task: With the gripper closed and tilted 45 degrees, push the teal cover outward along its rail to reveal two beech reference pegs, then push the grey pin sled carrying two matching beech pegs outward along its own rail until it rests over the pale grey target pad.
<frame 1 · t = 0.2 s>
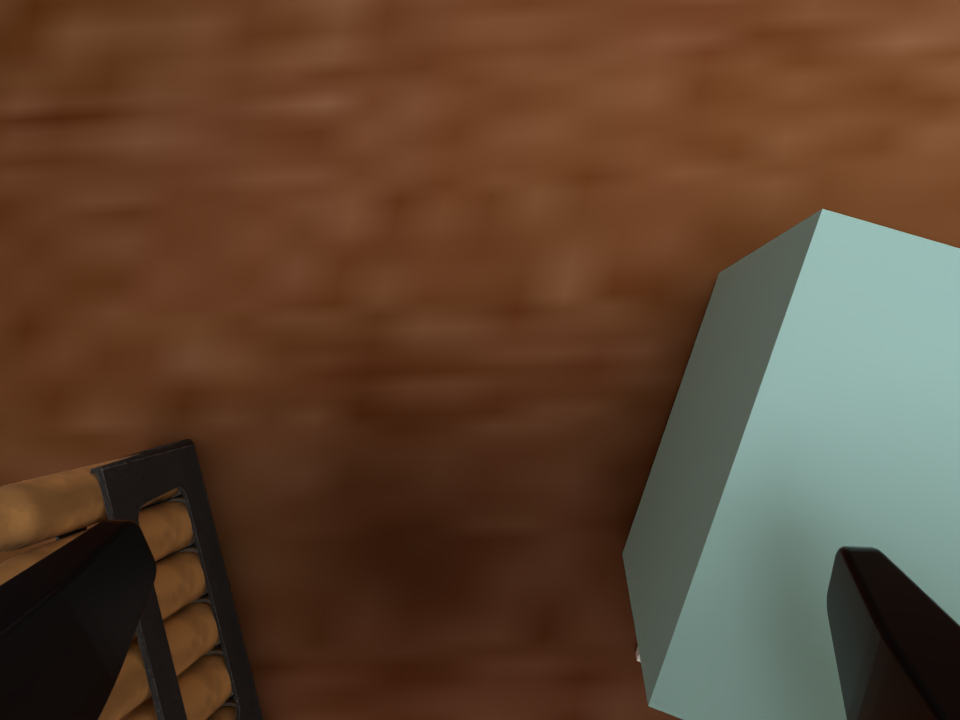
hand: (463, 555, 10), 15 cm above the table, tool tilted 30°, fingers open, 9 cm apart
ammunition clip: (209, 592, 26), on the table
housing: (907, 504, 17), point 6 cm above the table, slide at 0.0 cm
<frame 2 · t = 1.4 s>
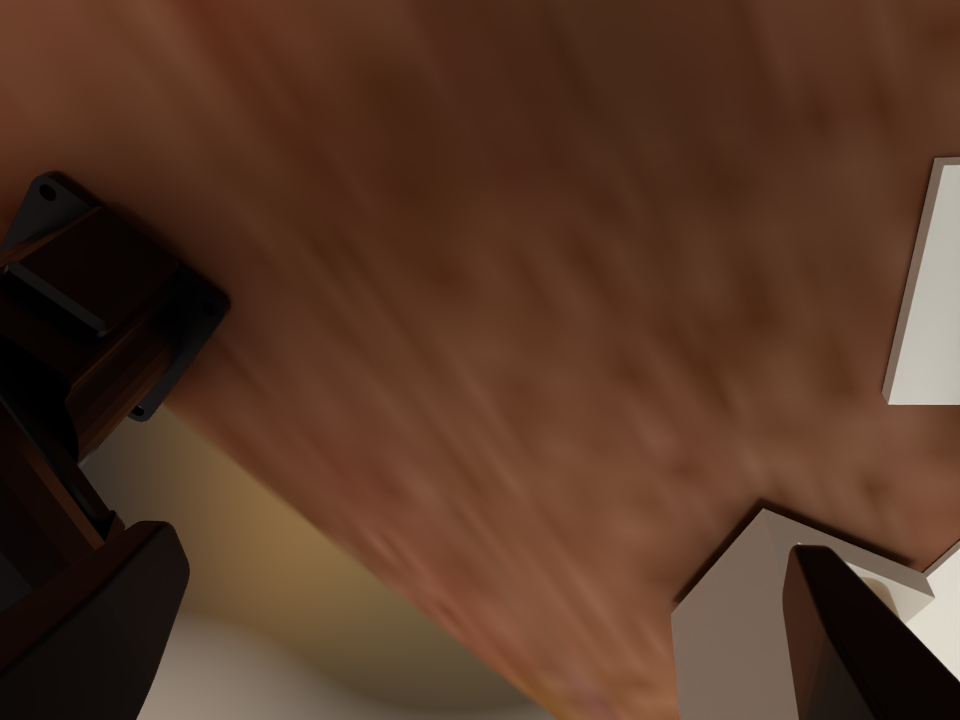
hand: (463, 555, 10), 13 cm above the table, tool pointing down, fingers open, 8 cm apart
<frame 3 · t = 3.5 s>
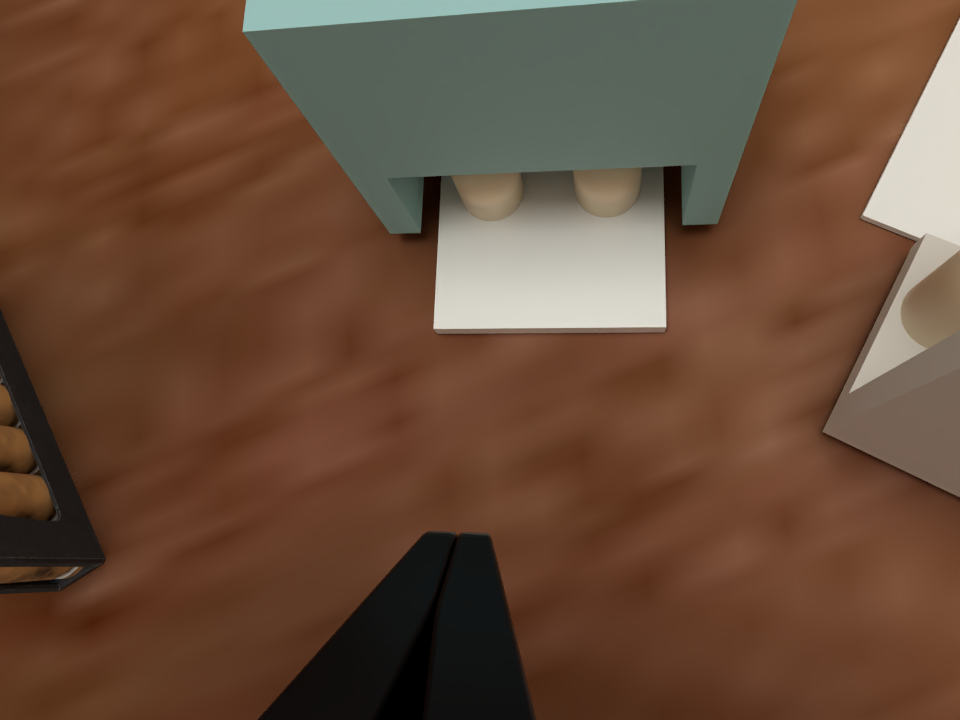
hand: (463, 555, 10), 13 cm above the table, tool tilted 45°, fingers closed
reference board: (551, 155, 24), on the table
ammunition clip: (29, 436, 26), on the table
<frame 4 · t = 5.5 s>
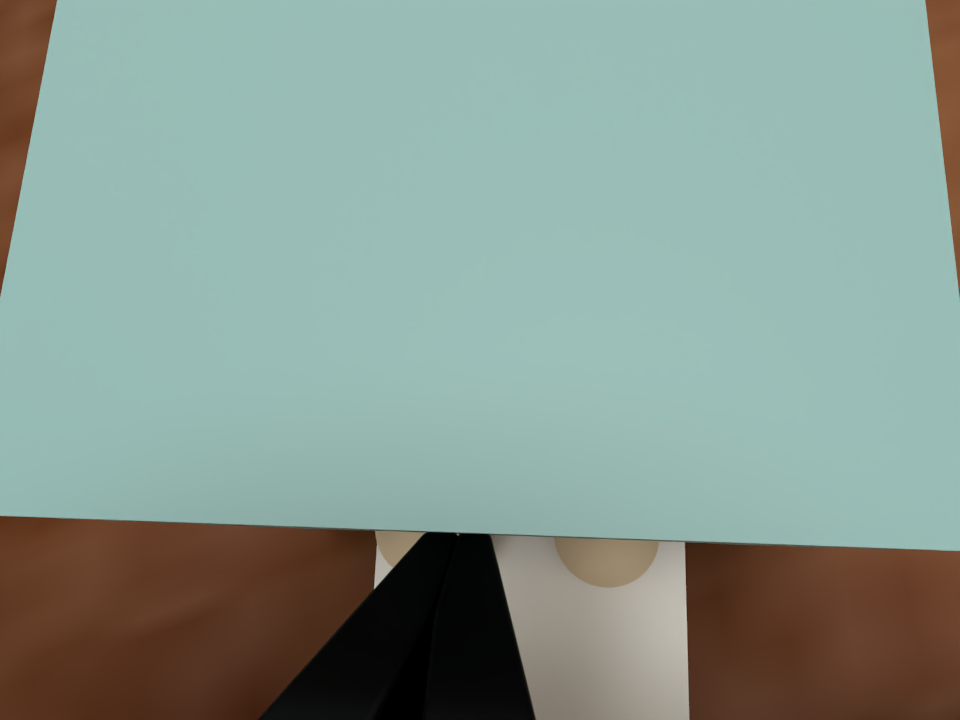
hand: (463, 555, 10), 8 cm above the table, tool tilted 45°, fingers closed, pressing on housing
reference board: (530, 467, 18), on the table
housing: (499, 268, 13), point 6 cm above the table, slide at 1.3 cm, touching gripper
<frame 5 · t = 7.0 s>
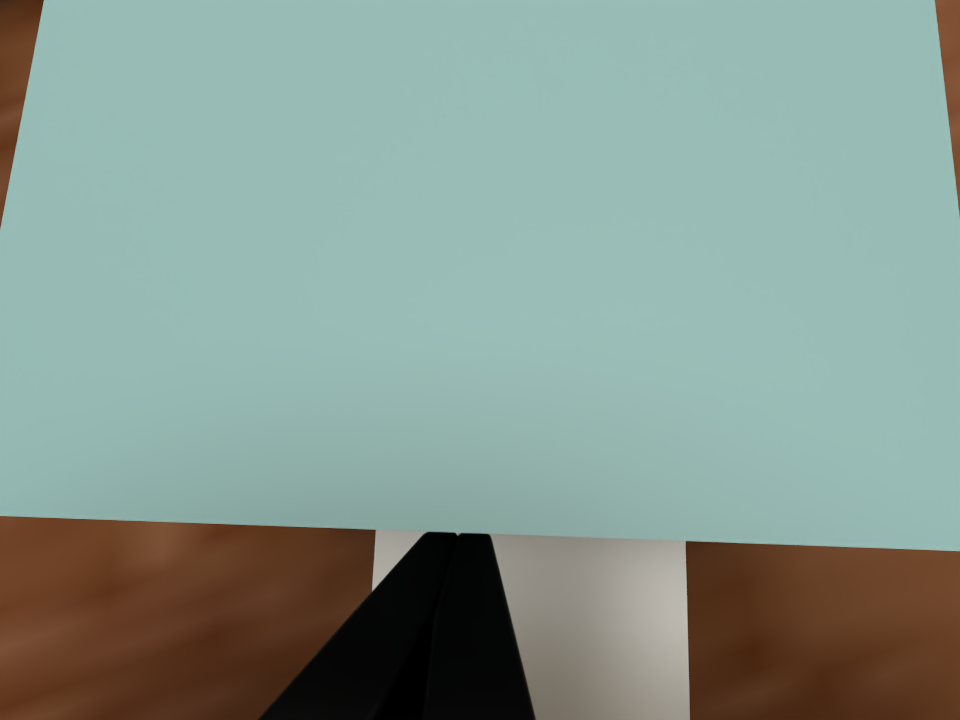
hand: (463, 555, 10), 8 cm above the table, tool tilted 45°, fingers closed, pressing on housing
housing: (498, 263, 13), point 6 cm above the table, slide at 7.8 cm, touching gripper
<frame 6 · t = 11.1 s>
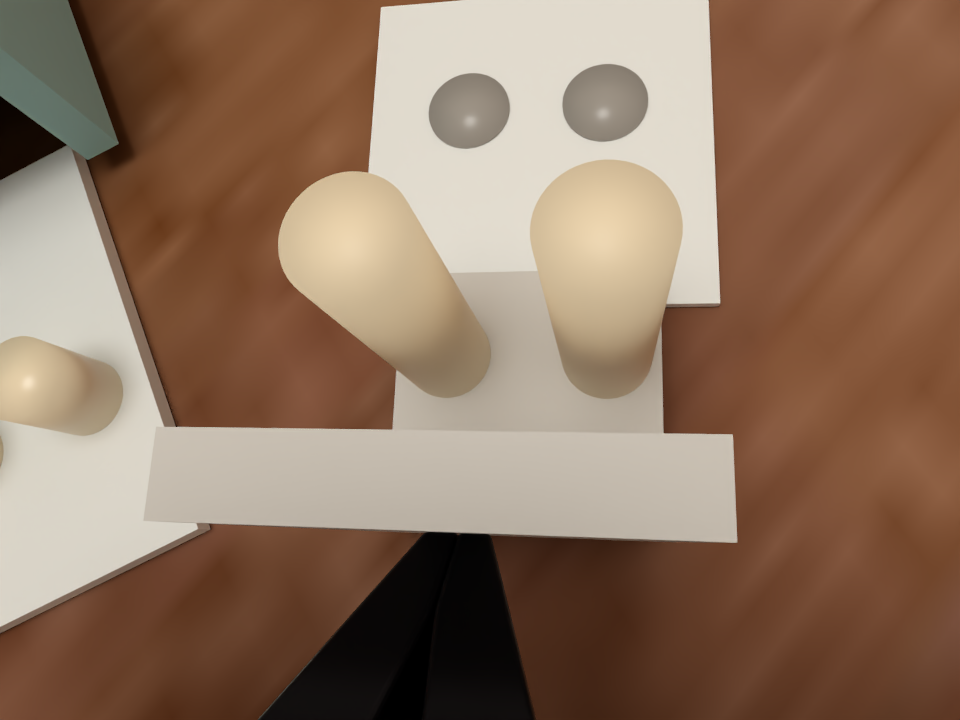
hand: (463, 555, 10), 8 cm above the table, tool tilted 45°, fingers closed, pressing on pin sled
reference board: (31, 382, 21), on the table
pin sled: (499, 355, 13), point 6 cm above the table, slide at 0.9 cm, touching gripper
target pad: (536, 146, 20), on the table
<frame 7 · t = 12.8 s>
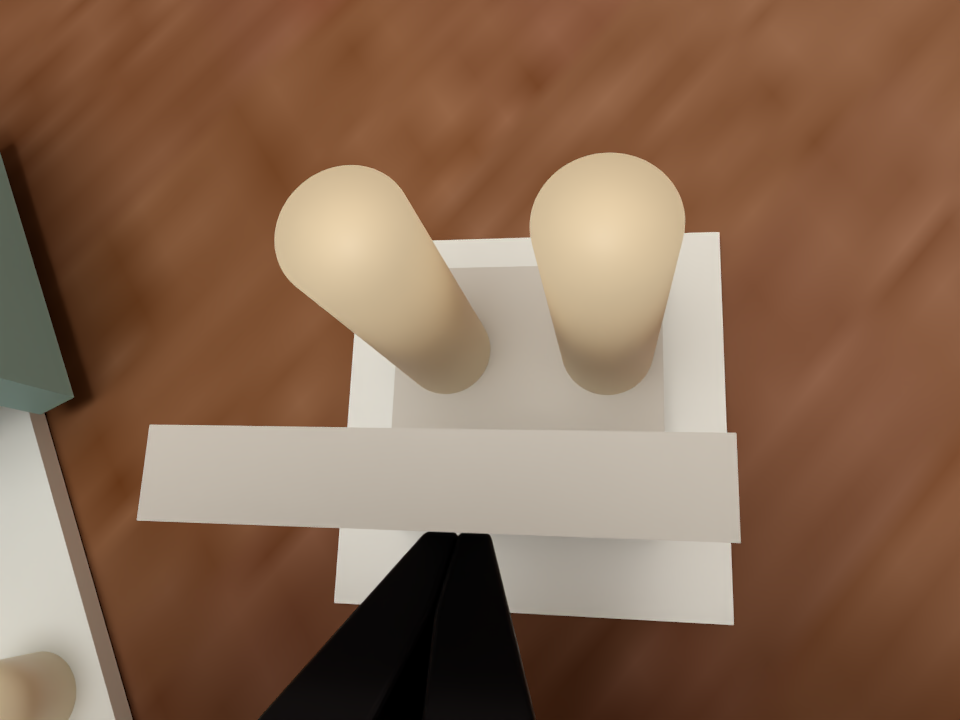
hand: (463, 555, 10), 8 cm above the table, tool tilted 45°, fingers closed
pin sled: (499, 351, 13), point 6 cm above the table, slide at 8.2 cm
target pad: (530, 416, 18), on the table
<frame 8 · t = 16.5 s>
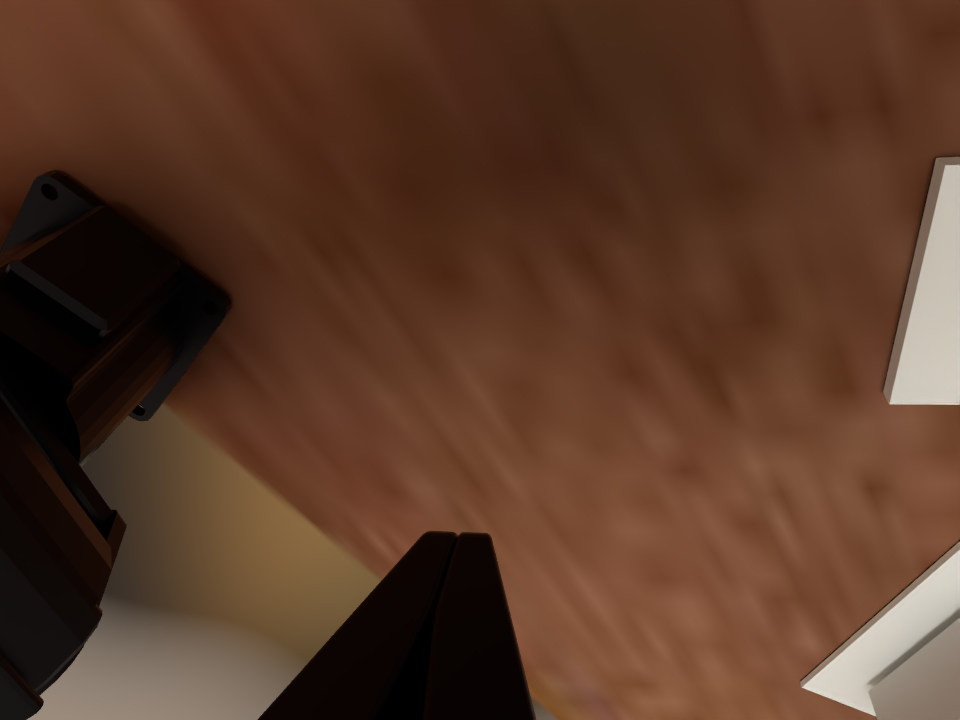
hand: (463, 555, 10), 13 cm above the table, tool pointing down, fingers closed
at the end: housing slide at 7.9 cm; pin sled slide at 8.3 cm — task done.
